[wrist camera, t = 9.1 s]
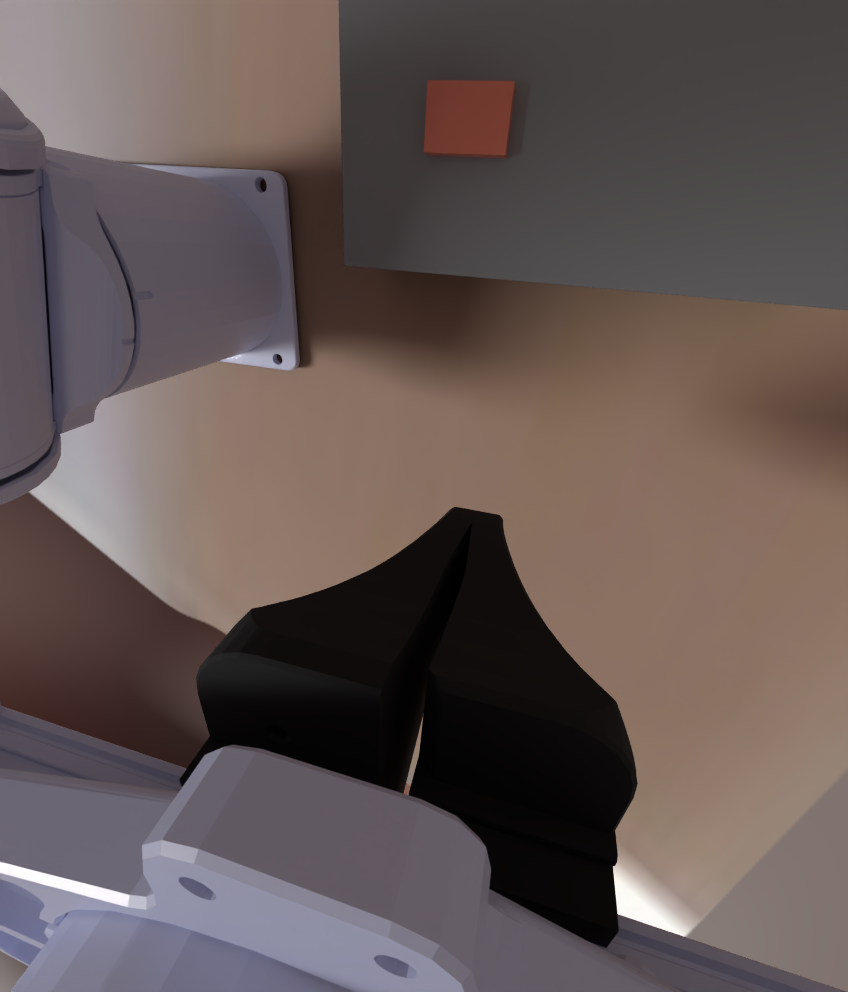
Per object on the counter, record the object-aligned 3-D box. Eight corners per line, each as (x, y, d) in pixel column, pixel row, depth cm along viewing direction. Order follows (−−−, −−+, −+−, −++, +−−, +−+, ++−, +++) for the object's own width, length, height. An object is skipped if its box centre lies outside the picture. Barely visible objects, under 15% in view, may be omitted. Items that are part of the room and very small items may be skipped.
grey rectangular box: (380, 263, 19) (338, 266, 15) (385, -5, 15) (328, -94, 11) (828, 301, 16) (916, 316, 12) (981, -21, 12) (1185, -149, 8)
